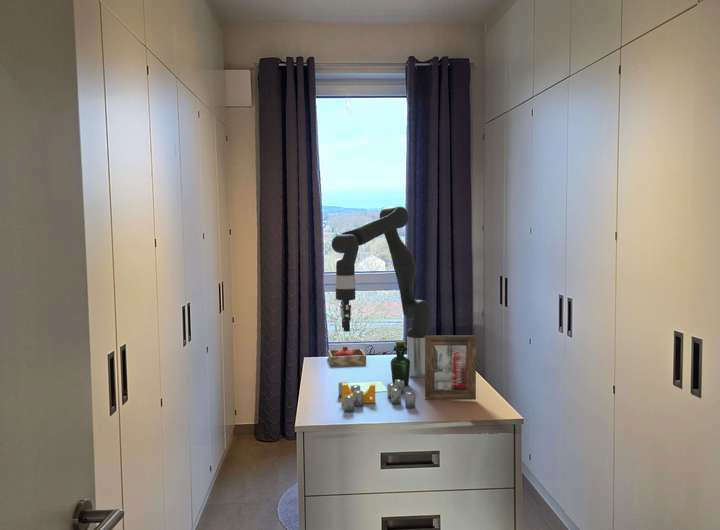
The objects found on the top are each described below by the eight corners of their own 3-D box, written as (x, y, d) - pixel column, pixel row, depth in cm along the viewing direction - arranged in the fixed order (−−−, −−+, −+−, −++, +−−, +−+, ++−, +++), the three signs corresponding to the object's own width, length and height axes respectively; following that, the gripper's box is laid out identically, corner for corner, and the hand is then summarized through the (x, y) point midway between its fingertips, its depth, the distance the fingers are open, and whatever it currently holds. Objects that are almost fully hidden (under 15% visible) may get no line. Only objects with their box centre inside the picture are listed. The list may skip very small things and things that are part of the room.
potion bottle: (393, 381, 216) (393, 339, 215) (412, 383, 213) (412, 340, 213) (388, 386, 209) (387, 342, 208) (407, 388, 206) (407, 343, 205)
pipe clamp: (341, 403, 187) (341, 386, 186) (343, 399, 191) (342, 382, 190) (374, 404, 186) (374, 387, 185) (375, 400, 190) (375, 383, 190)
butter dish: (330, 365, 245) (330, 348, 245) (337, 360, 257) (336, 343, 256) (354, 366, 243) (353, 349, 243) (359, 361, 254) (359, 344, 254)
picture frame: (425, 399, 191) (424, 336, 190) (425, 398, 193) (424, 335, 192) (475, 399, 190) (475, 336, 189) (475, 398, 192) (475, 335, 191)
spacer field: (403, 391, 202) (402, 378, 202) (416, 408, 181) (416, 394, 181) (338, 395, 198) (337, 382, 198) (344, 412, 178) (344, 398, 177)
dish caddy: (361, 358, 259) (361, 348, 259) (366, 365, 244) (366, 355, 243) (328, 360, 256) (328, 350, 256) (331, 367, 241) (331, 357, 241)
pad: (381, 381, 216) (381, 381, 216) (387, 391, 202) (387, 390, 202) (343, 383, 214) (343, 383, 213) (347, 393, 200) (347, 393, 200)
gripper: (357, 288, 189) (357, 332, 189) (353, 285, 203) (353, 326, 203) (336, 289, 188) (337, 333, 189) (334, 285, 202) (334, 326, 203)
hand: (345, 329), depth 196 cm, fingers open, 8 cm apart
